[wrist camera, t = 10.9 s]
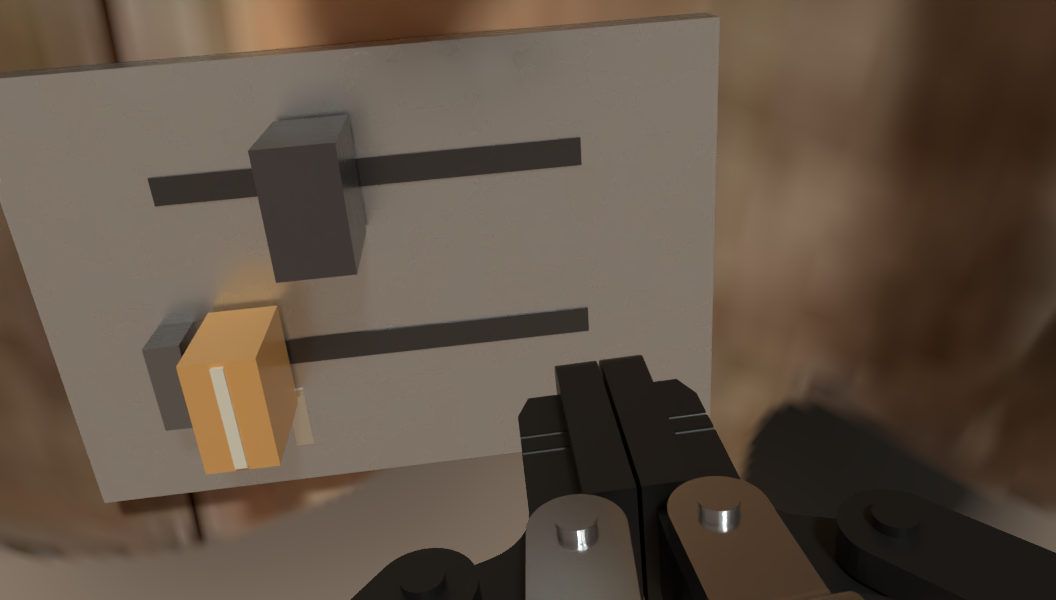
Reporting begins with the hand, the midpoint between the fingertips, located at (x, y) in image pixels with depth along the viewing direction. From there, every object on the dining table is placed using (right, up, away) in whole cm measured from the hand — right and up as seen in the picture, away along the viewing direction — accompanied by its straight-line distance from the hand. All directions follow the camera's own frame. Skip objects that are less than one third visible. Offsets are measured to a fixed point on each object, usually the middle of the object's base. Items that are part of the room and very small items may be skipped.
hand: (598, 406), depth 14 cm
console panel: (-8, +4, +24) cm, 26 cm away
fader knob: (-14, -1, +23) cm, 27 cm away
